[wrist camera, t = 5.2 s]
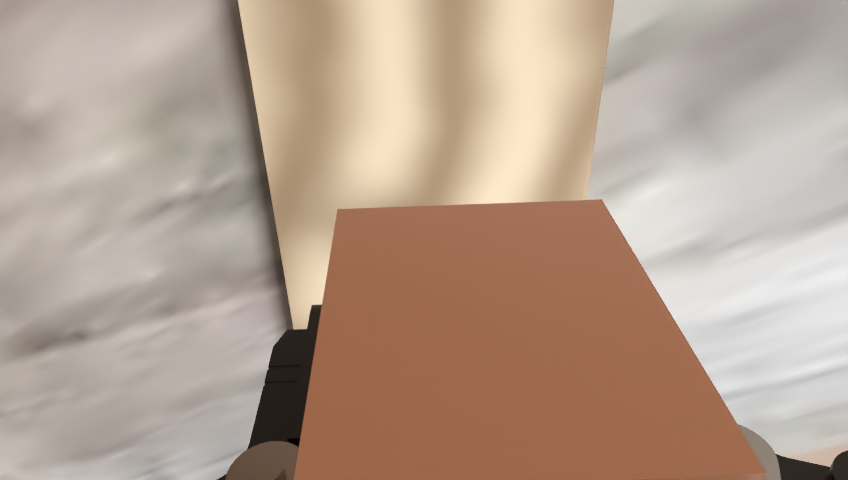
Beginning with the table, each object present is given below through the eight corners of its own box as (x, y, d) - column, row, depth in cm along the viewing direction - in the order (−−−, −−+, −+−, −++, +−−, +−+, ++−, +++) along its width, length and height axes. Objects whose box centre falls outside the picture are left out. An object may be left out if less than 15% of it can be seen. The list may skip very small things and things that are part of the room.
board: (606, -17, 26) (615, -12, 25) (552, 394, 38) (557, 409, 37) (243, -7, 25) (237, -2, 24) (311, 405, 38) (309, 421, 37)
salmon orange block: (601, 199, 13) (767, 473, 7) (572, 389, 15) (673, 690, 10) (337, 208, 12) (291, 495, 7) (357, 398, 15) (336, 710, 10)
